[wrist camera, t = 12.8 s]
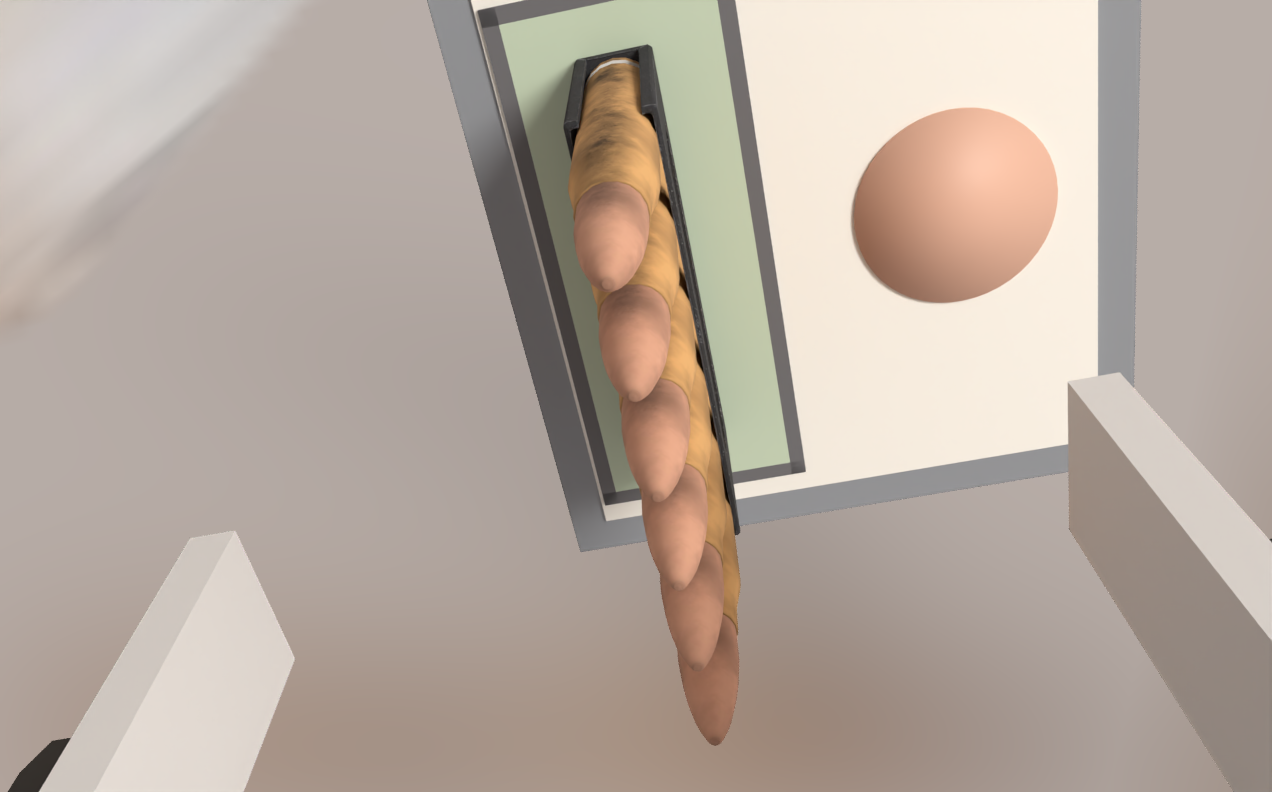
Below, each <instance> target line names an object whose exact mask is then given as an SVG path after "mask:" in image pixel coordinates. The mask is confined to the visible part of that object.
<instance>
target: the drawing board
mask: <svg viewBox="0 0 1272 792" xmlns="http://www.w3.org/2000/svg"><path fill="white" fill-rule="evenodd" d="M427 1H428V5H429V9H430V13H431V16H432V19H433V23H434V27H435V31H436V34H437V38H438V41H439V45H440V48H441V52H442V56H443V59H444V63H445V67H446V70H447V74H448V77H449V81H450V84H451V88H452V92H453V95H454V99H455V102H456V106H457V110H458V113H459V117H460V120H461V124H462V128H463V131H464V135H465V138H466V142H467V146H468V149H469V153H470V156H471V160H472V163H473V167H474V171H475V174H476V178H477V182H478V185H479V188H480V192H481V196H482V199H483V203H484V207H485V210H486V213H487V217H488V221H489V225H490V228H491V232H492V235H493V239H494V242H495V246H496V250H497V253H498V257H499V261H500V264H501V268H502V271H503V275H504V279H505V282H506V286H507V289H508V292H509V296H510V300H511V304H512V307H513V311H514V314H515V318H516V322H517V325H518V329H519V332H520V336H521V339H522V343H523V347H524V350H525V354H526V358H527V361H528V365H529V368H530V372H531V376H532V379H533V383H534V386H535V390H536V394H537V397H538V401H539V404H540V408H541V411H542V415H543V419H544V422H545V426H546V429H547V433H548V436H549V440H550V444H551V447H552V451H553V454H554V458H555V462H556V465H557V469H558V473H559V476H560V480H561V483H562V487H563V491H564V494H565V498H566V501H567V505H568V508H569V512H570V516H571V519H572V523H573V526H574V530H575V533H576V537H577V541H578V544H579V548H580V551H581V552H584V551H590V550H596V549H602V548H609V547H614V546H620V545H627V544H633V543H638V542H645V541H647V537H646V533H645V528H644V522H643V516H642V498H641V493H640V489H639V486H638V484H637V482H636V480H635V478H634V476H633V474H632V472H631V469H630V467H629V463H628V460H627V456H626V452H625V447H624V442H623V436H622V425H621V411H620V405H619V393H618V392H617V390H616V389H615V388H614V386H613V384H612V383H611V381H610V379H609V377H608V375H607V372H606V370H605V366H604V363H603V359H602V355H601V349H600V343H599V321H598V316H597V304H596V302H595V299H594V295H593V291H592V287H591V283H590V281H589V280H588V278H587V277H586V275H585V274H584V272H583V271H582V269H581V267H580V264H579V261H578V257H577V253H576V249H575V243H574V235H573V234H574V224H575V223H574V219H573V208H572V205H571V201H570V197H569V193H568V183H569V174H570V168H571V158H570V154H569V150H568V145H567V141H566V137H565V133H564V129H563V124H564V118H565V113H566V107H567V102H568V96H569V91H570V85H571V79H572V74H573V68H574V63H575V61H576V60H577V59H581V58H586V57H590V56H595V55H600V54H604V53H609V52H614V51H618V50H623V49H628V48H632V47H637V46H642V45H646V44H648V45H650V46H651V47H652V48H653V54H654V59H655V64H656V69H657V74H658V79H659V85H660V90H661V95H662V100H663V105H664V111H665V116H666V121H667V126H668V131H669V136H670V142H671V147H672V152H673V157H674V162H675V168H676V173H677V178H678V183H679V188H680V194H681V199H682V204H683V209H684V214H685V219H686V225H687V230H688V235H689V240H690V245H691V251H692V256H693V261H694V266H695V271H696V276H697V282H698V287H699V292H700V297H701V302H702V308H703V313H704V318H705V323H706V328H707V334H708V339H709V344H710V349H711V354H712V359H713V365H714V370H715V375H716V380H717V385H718V391H719V396H720V401H721V406H722V411H723V416H724V422H725V427H726V433H727V440H728V448H729V455H730V462H731V469H732V476H733V483H734V490H735V497H736V504H737V511H738V518H739V525H740V526H742V525H748V524H755V523H760V522H767V521H772V520H779V519H785V518H790V517H797V516H803V515H809V514H815V513H821V512H827V511H834V510H839V509H846V508H852V507H858V506H863V505H870V504H876V503H882V502H888V501H894V500H901V499H907V498H913V497H919V496H925V495H931V494H937V493H943V492H949V491H955V490H961V489H967V488H973V487H980V486H985V485H991V484H998V483H1004V482H1009V481H1015V480H1022V479H1028V478H1034V477H1040V476H1046V475H1052V474H1059V473H1065V472H1068V381H1073V380H1079V379H1084V378H1090V377H1096V376H1101V375H1107V374H1112V373H1118V372H1120V373H1121V374H1122V375H1123V377H1124V378H1125V379H1126V380H1127V381H1128V382H1129V383H1130V384H1131V385H1132V387H1133V388H1134V356H1135V354H1134V353H1135V302H1136V301H1135V300H1136V298H1135V297H1136V248H1137V247H1136V246H1137V245H1136V244H1137V192H1138V139H1139V84H1140V83H1139V81H1140V29H1141V0H427Z"/></svg>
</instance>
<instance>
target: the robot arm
mask: <svg viewBox="0 0 1272 792" xmlns="http://www.w3.org/2000/svg"><path fill="white" fill-rule="evenodd" d="M1068 472H1069V530H1070V532H1071V533H1072V535H1073V536H1074V538H1075V540H1076V541H1077V543H1078V544H1079V546H1080V547H1081V549H1082V551H1083V552H1084V554H1085V555H1086V557H1087V559H1088V560H1089V562H1090V563H1091V565H1092V567H1093V568H1094V570H1095V571H1096V573H1097V575H1098V576H1099V577H1100V579H1101V581H1102V582H1103V584H1104V586H1105V587H1106V589H1107V591H1108V592H1109V594H1110V595H1111V597H1112V599H1113V600H1114V602H1115V603H1116V605H1117V607H1118V608H1119V610H1120V611H1121V613H1122V615H1123V616H1124V618H1125V619H1126V621H1127V622H1128V624H1129V626H1130V627H1131V629H1132V630H1133V632H1134V634H1135V635H1136V637H1137V639H1138V640H1139V641H1140V643H1141V645H1142V646H1143V648H1144V650H1145V651H1146V653H1147V654H1148V656H1149V658H1150V659H1151V661H1152V662H1153V664H1154V666H1155V667H1156V669H1157V670H1158V672H1159V674H1160V675H1161V677H1162V678H1163V680H1164V682H1165V683H1166V685H1167V686H1168V688H1169V690H1170V691H1171V693H1172V694H1173V696H1174V698H1175V699H1176V701H1177V702H1178V704H1179V705H1180V707H1181V709H1182V710H1183V712H1184V714H1185V715H1186V717H1187V718H1188V720H1189V722H1190V723H1191V725H1192V726H1193V728H1194V729H1195V731H1196V733H1197V734H1198V736H1199V737H1200V739H1201V740H1202V742H1203V744H1204V745H1205V747H1206V749H1207V750H1208V752H1209V753H1210V755H1211V757H1212V758H1213V760H1214V761H1215V763H1216V764H1217V766H1218V768H1219V769H1220V771H1221V772H1222V774H1223V776H1224V777H1225V779H1226V781H1227V782H1228V784H1229V785H1230V787H1231V788H1232V790H1233V792H1272V539H1268V538H1267V537H1266V536H1265V535H1264V533H1263V532H1262V531H1261V530H1260V529H1259V528H1258V527H1257V525H1256V524H1255V523H1254V522H1253V521H1252V520H1251V519H1250V518H1249V517H1248V515H1247V514H1246V513H1245V512H1244V511H1243V510H1242V509H1241V507H1239V505H1238V504H1237V503H1236V502H1235V501H1234V500H1233V499H1232V497H1231V496H1230V495H1229V494H1228V493H1227V492H1226V491H1225V490H1224V488H1223V487H1222V486H1221V485H1220V484H1219V483H1218V482H1217V481H1216V480H1215V478H1214V477H1213V476H1212V475H1211V474H1210V473H1209V472H1208V471H1207V469H1206V468H1205V467H1204V466H1203V465H1202V464H1201V463H1200V462H1199V460H1198V459H1197V458H1196V457H1195V456H1194V455H1193V454H1192V453H1191V452H1190V450H1189V449H1188V448H1187V447H1186V446H1185V445H1184V444H1183V443H1182V441H1181V440H1180V439H1179V438H1178V437H1177V436H1176V435H1175V434H1174V432H1173V431H1172V430H1171V429H1170V428H1169V427H1168V426H1167V425H1166V424H1165V423H1164V421H1163V420H1162V419H1161V418H1160V417H1159V416H1158V415H1157V414H1156V412H1155V411H1154V410H1153V409H1152V408H1151V407H1150V406H1149V404H1148V403H1147V402H1146V401H1145V400H1144V399H1143V398H1142V397H1141V396H1140V394H1139V393H1138V392H1137V391H1136V390H1135V389H1134V388H1133V387H1132V385H1131V384H1130V383H1129V382H1128V381H1127V380H1126V379H1125V378H1124V377H1123V375H1122V374H1121V373H1120V372H1118V373H1112V374H1107V375H1101V376H1096V377H1090V378H1084V379H1079V380H1073V381H1068ZM294 660H295V658H294V655H293V653H292V651H291V649H290V647H289V645H288V642H287V640H286V638H285V636H284V634H283V632H282V630H281V627H280V625H279V623H278V621H277V619H276V617H275V615H274V612H273V610H272V608H271V606H270V604H269V602H268V600H267V597H266V595H265V593H264V591H263V589H262V587H261V585H260V582H259V580H258V578H257V576H256V574H255V572H254V569H253V567H252V565H251V563H250V561H249V559H248V557H247V555H246V552H245V551H244V548H243V546H242V544H241V542H240V539H239V537H238V535H237V533H236V531H235V530H233V531H228V532H222V533H216V534H211V535H206V536H200V537H194V538H190V539H189V541H188V542H187V544H186V546H185V547H184V549H183V551H182V552H181V554H180V556H179V557H178V559H177V561H176V563H175V564H174V566H173V568H172V569H171V571H170V572H169V575H168V576H167V578H166V579H165V581H164V583H163V584H162V586H161V588H160V589H159V591H158V593H157V594H156V596H155V598H154V600H153V601H152V603H151V605H150V606H149V608H148V609H147V611H146V613H145V615H144V616H143V618H142V620H141V621H140V623H139V625H138V626H137V628H136V630H135V631H134V633H133V635H132V636H131V638H130V640H129V642H128V643H127V645H126V647H125V648H124V650H123V651H122V653H121V655H120V657H119V658H118V660H117V662H116V663H115V665H114V667H113V668H112V670H111V672H110V674H109V675H108V677H107V678H106V680H105V682H104V683H103V685H102V687H101V688H100V690H99V692H98V693H97V695H96V697H95V699H94V700H93V702H92V704H91V705H90V707H89V709H88V710H87V712H86V714H85V715H84V717H83V719H82V720H81V722H80V724H79V725H78V727H77V729H76V731H75V732H74V734H73V735H72V737H71V738H67V739H61V740H55V741H52V742H51V743H50V744H49V745H48V746H47V747H46V748H45V749H44V750H42V751H41V752H40V753H39V754H38V755H37V756H36V757H35V758H34V759H33V761H31V762H30V763H29V764H28V765H27V766H26V767H25V768H24V769H23V770H22V771H21V772H20V773H19V775H18V776H17V778H16V780H15V781H14V783H13V784H12V786H11V788H10V789H9V791H8V792H244V790H245V787H246V785H247V782H248V779H249V777H250V774H251V772H252V769H253V766H254V764H255V761H256V759H257V756H258V753H259V751H260V748H261V746H262V743H263V741H264V738H265V735H266V733H267V730H268V728H269V725H270V722H271V720H272V717H273V714H274V712H275V709H276V707H277V704H278V702H279V699H280V696H281V694H282V691H283V689H284V686H285V683H286V681H287V678H288V676H289V673H290V670H291V668H292V665H293V663H294Z"/></svg>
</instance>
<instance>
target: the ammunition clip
mask: <svg viewBox="0 0 1272 792" xmlns="http://www.w3.org/2000/svg"><path fill="white" fill-rule="evenodd" d="M563 129H564V133H565V137H566V141H567V145H568V150H569V154H570V158H571V168H570V174H569V183H568V193H569V197H570V201H571V205H572V208H573V219H574V223H575V224H574V234H573V235H574V243H575V249H576V253H577V257H578V261H579V264H580V267H581V269H582V271H583V272H584V274H585V275H586V277H587V278H588V280H589V281H590V283H591V287H592V291H593V295H594V299H595V302H596V304H597V316H598V321H599V343H600V349H601V355H602V359H603V363H604V366H605V370H606V372H607V375H608V377H609V379H610V381H611V383H612V384H613V386H614V388H615V389H616V390H617V392H618V393H619V405H620V411H621V425H622V436H623V442H624V447H625V452H626V456H627V460H628V463H629V467H630V469H631V472H632V474H633V476H634V478H635V480H636V482H637V484H638V486H639V489H640V493H641V498H642V516H643V522H644V528H645V533H646V537H647V541H648V545H649V548H650V552H651V554H652V557H653V560H654V562H655V564H656V566H657V568H658V571H659V573H660V584H661V594H662V600H663V605H664V610H665V615H666V618H667V622H668V626H669V629H670V632H671V635H672V638H673V640H674V642H675V645H676V647H677V651H678V662H679V667H680V673H681V678H682V683H683V688H684V691H685V695H686V698H687V702H688V705H689V708H690V710H691V713H692V715H693V718H694V720H695V723H696V724H697V726H698V728H699V730H700V732H701V733H702V734H703V736H704V737H705V738H706V740H707V741H708V742H709V743H710V744H712V745H715V746H716V745H718V744H720V743H721V742H722V741H723V739H724V738H725V736H726V734H727V732H728V730H729V727H730V724H731V721H732V717H733V713H734V708H735V704H736V699H737V692H738V683H739V682H738V681H739V653H738V643H737V635H738V623H737V604H738V598H739V593H740V573H739V565H738V557H737V549H736V542H735V535H738V534H739V533H740V525H739V518H738V511H737V504H736V497H735V490H734V483H733V476H732V469H731V462H730V455H729V448H728V440H727V433H726V427H725V422H724V416H723V411H722V406H721V401H720V396H719V391H718V385H717V380H716V375H715V370H714V365H713V359H712V354H711V349H710V344H709V339H708V334H707V328H706V323H705V318H704V313H703V308H702V302H701V297H700V292H699V287H698V282H697V276H696V271H695V266H694V261H693V256H692V251H691V245H690V240H689V235H688V230H687V225H686V219H685V214H684V209H683V204H682V199H681V194H680V188H679V183H678V178H677V173H676V168H675V162H674V157H673V152H672V147H671V142H670V136H669V131H668V126H667V121H666V116H665V111H664V105H663V100H662V95H661V90H660V85H659V79H658V74H657V69H656V64H655V59H654V54H653V48H652V47H651V46H650V45H648V44H646V45H642V46H637V47H632V48H628V49H623V50H618V51H614V52H609V53H604V54H600V55H595V56H590V57H586V58H581V59H577V60H576V61H575V63H574V68H573V74H572V79H571V85H570V91H569V96H568V102H567V107H566V113H565V118H564V124H563Z"/></svg>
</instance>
